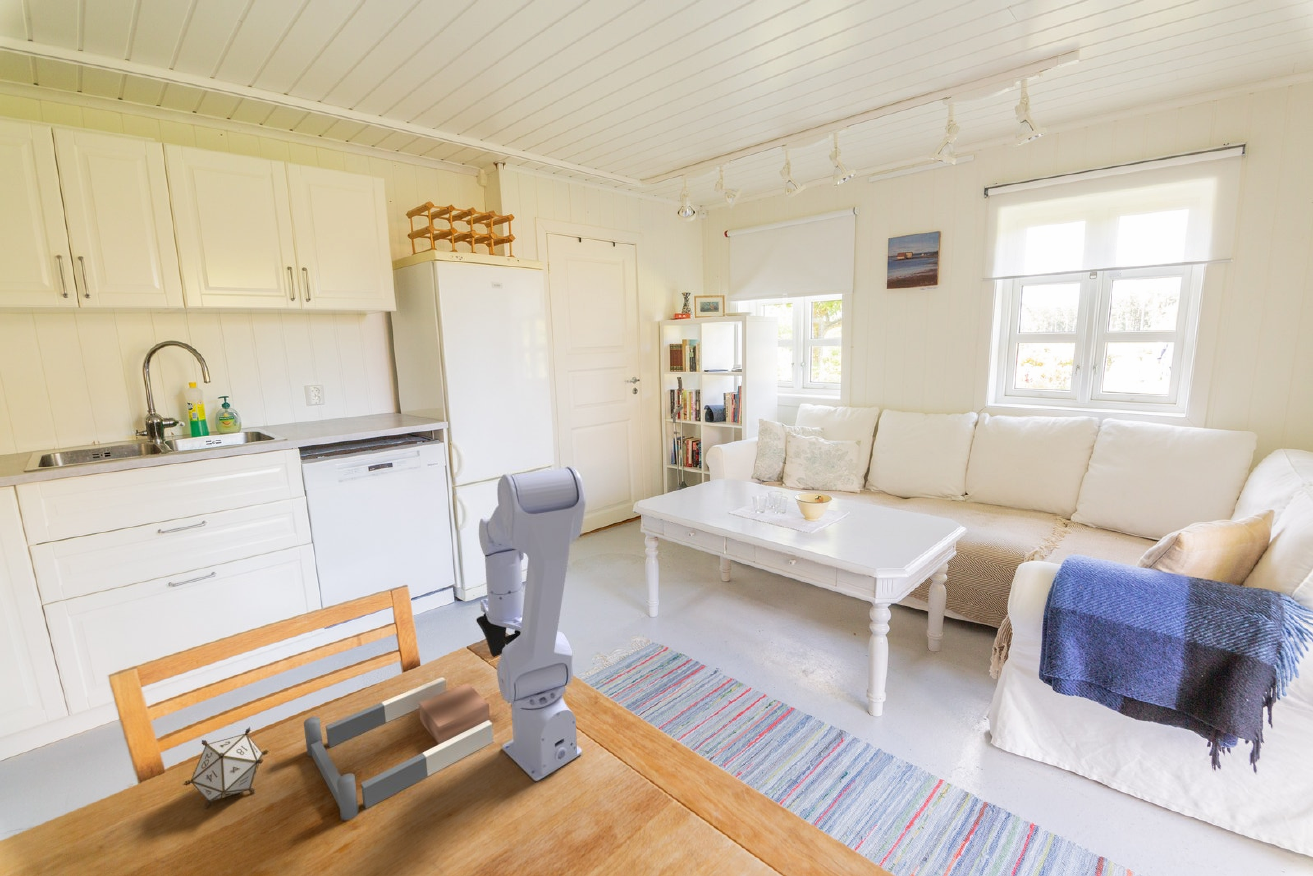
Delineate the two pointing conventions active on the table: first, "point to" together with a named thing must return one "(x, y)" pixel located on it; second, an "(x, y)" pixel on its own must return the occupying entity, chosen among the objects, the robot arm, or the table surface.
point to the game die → (227, 767)
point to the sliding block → (453, 712)
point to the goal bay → (345, 784)
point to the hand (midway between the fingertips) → (509, 663)
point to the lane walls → (450, 748)
